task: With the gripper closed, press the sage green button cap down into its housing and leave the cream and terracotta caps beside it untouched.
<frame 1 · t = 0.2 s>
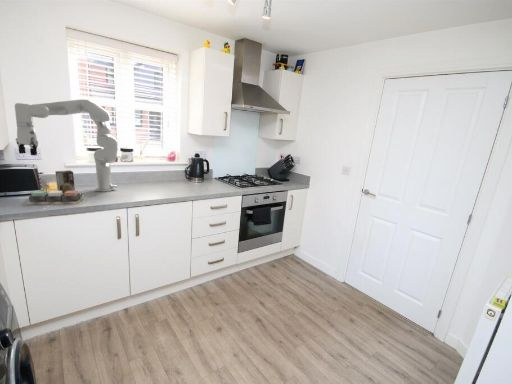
hand: (28, 154, 158), 30 cm above the counter, tool pointing down, fingers open, 9 cm apart
coffee box: (66, 193, 187), on the counter
terracotta button: (71, 194, 170), point 5 cm above the counter, slide at 0.0 cm
cream button: (55, 194, 167), point 5 cm above the counter, slide at 0.0 cm
sage button: (39, 194, 164), point 5 cm above the counter, slide at 0.0 cm
button panel: (56, 201, 168), on the counter
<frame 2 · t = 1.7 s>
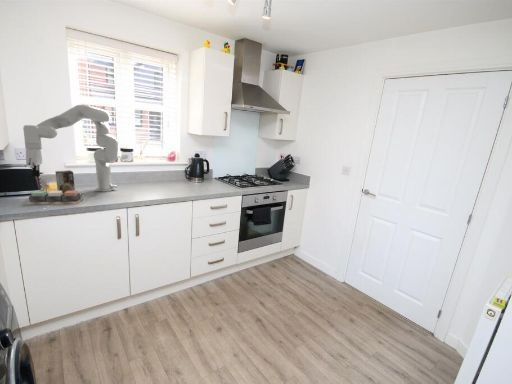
hand: (36, 176, 161), 17 cm above the counter, tool pointing down, fingers closed
nothing on the counter moved.
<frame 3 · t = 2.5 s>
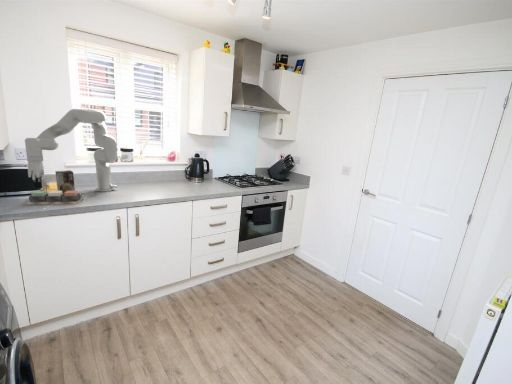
hand: (38, 187, 163), 9 cm above the counter, tool pointing down, fingers closed
nothing on the counter moved.
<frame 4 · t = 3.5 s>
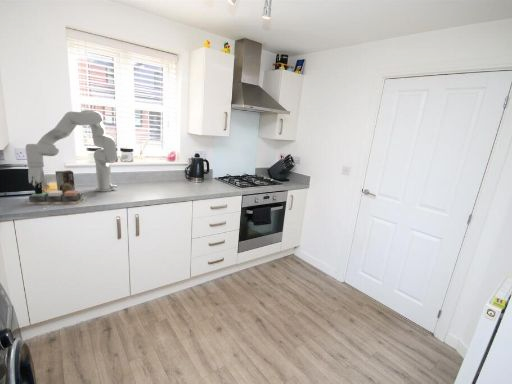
hand: (38, 193, 164), 6 cm above the counter, tool pointing down, fingers closed
sage button: (39, 196, 165), point 4 cm above the counter, slide at 1.0 cm, touching gripper
everything else where it was.
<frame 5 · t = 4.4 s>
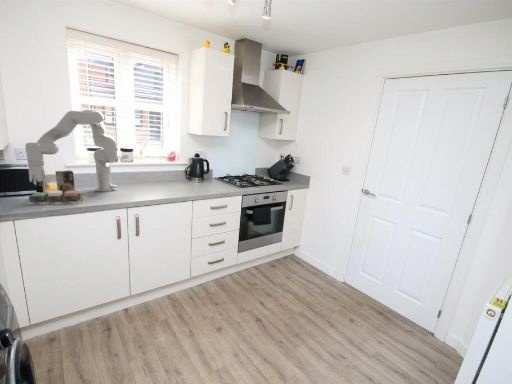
hand: (40, 191, 164), 6 cm above the counter, tool pointing down, fingers closed
sage button: (39, 196, 165), point 3 cm above the counter, slide at 1.3 cm
everything else where it was.
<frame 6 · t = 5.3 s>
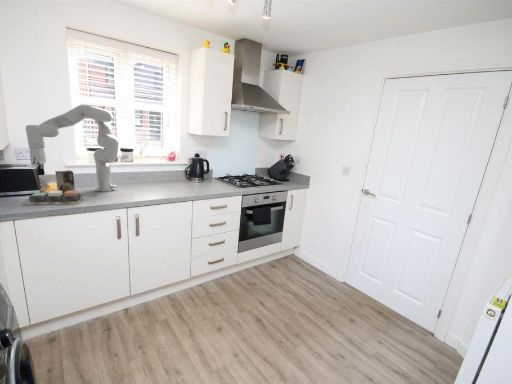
hand: (41, 174, 165), 17 cm above the counter, tool pointing down, fingers closed
nothing on the counter moved.
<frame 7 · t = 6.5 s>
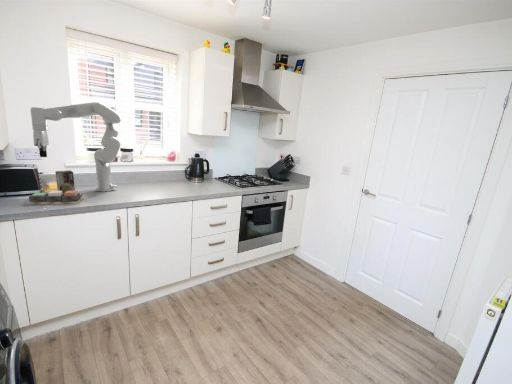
hand: (43, 156, 169), 27 cm above the counter, tool pointing down, fingers closed
nothing on the counter moved.
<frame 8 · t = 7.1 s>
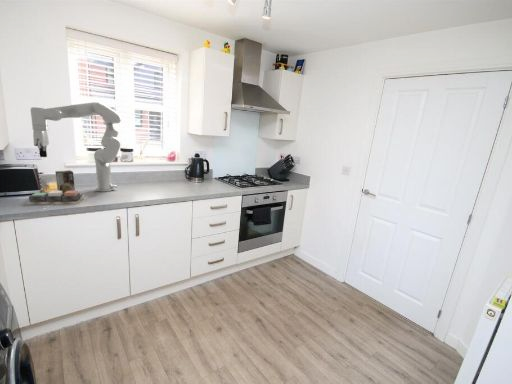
hand: (43, 156, 169), 27 cm above the counter, tool pointing down, fingers closed
nothing on the counter moved.
at the end: sage button slide at 1.3 cm; cream button slide at 0.0 cm; terracotta button slide at 0.0 cm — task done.
